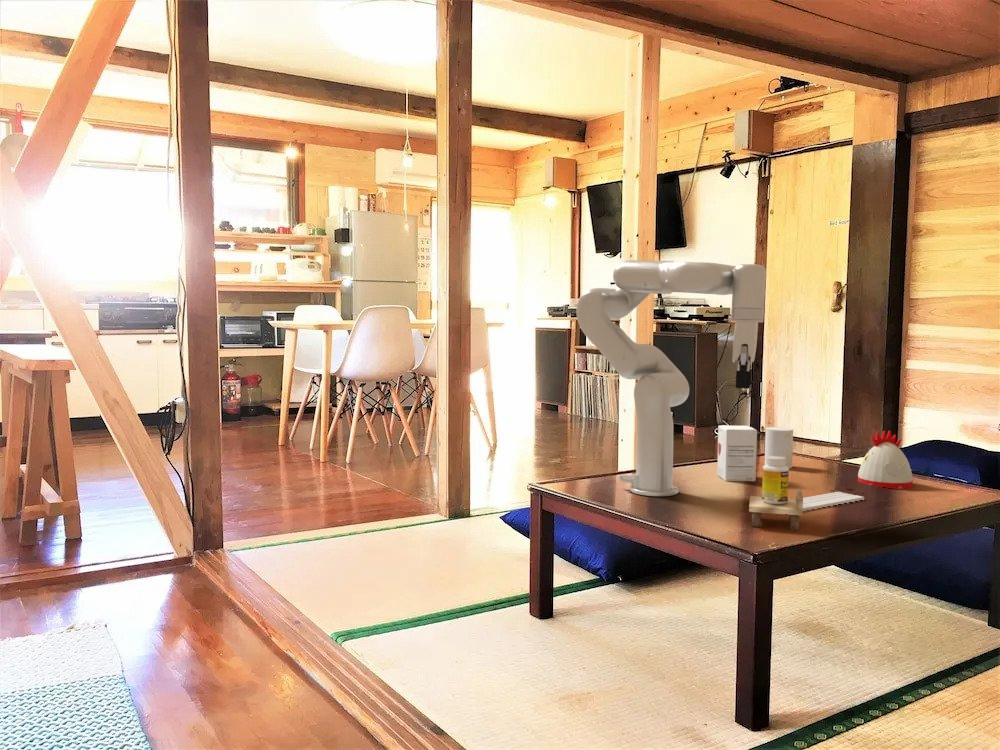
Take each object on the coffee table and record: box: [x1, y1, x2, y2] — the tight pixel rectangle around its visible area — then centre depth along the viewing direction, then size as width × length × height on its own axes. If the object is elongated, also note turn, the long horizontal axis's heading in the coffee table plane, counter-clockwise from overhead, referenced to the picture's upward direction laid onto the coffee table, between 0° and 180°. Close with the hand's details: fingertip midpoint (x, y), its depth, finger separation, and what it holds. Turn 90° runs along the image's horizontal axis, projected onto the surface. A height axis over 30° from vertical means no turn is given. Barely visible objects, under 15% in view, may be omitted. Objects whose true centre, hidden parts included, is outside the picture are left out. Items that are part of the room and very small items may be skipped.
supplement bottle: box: [761, 456, 790, 505], centre depth 179 cm, size 6×6×10 cm
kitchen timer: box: [857, 430, 914, 490], centre depth 225 cm, size 14×14×15 cm
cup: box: [764, 426, 794, 469], centre depth 251 cm, size 8×8×12 cm
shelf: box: [748, 488, 804, 531], centre depth 179 cm, size 11×11×7 cm
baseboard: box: [803, 486, 865, 512], centre depth 200 cm, size 30×3×10 cm
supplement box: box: [716, 424, 758, 482], centre depth 232 cm, size 9×9×15 cm
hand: (743, 386), depth 195 cm, fingers open, 9 cm apart
